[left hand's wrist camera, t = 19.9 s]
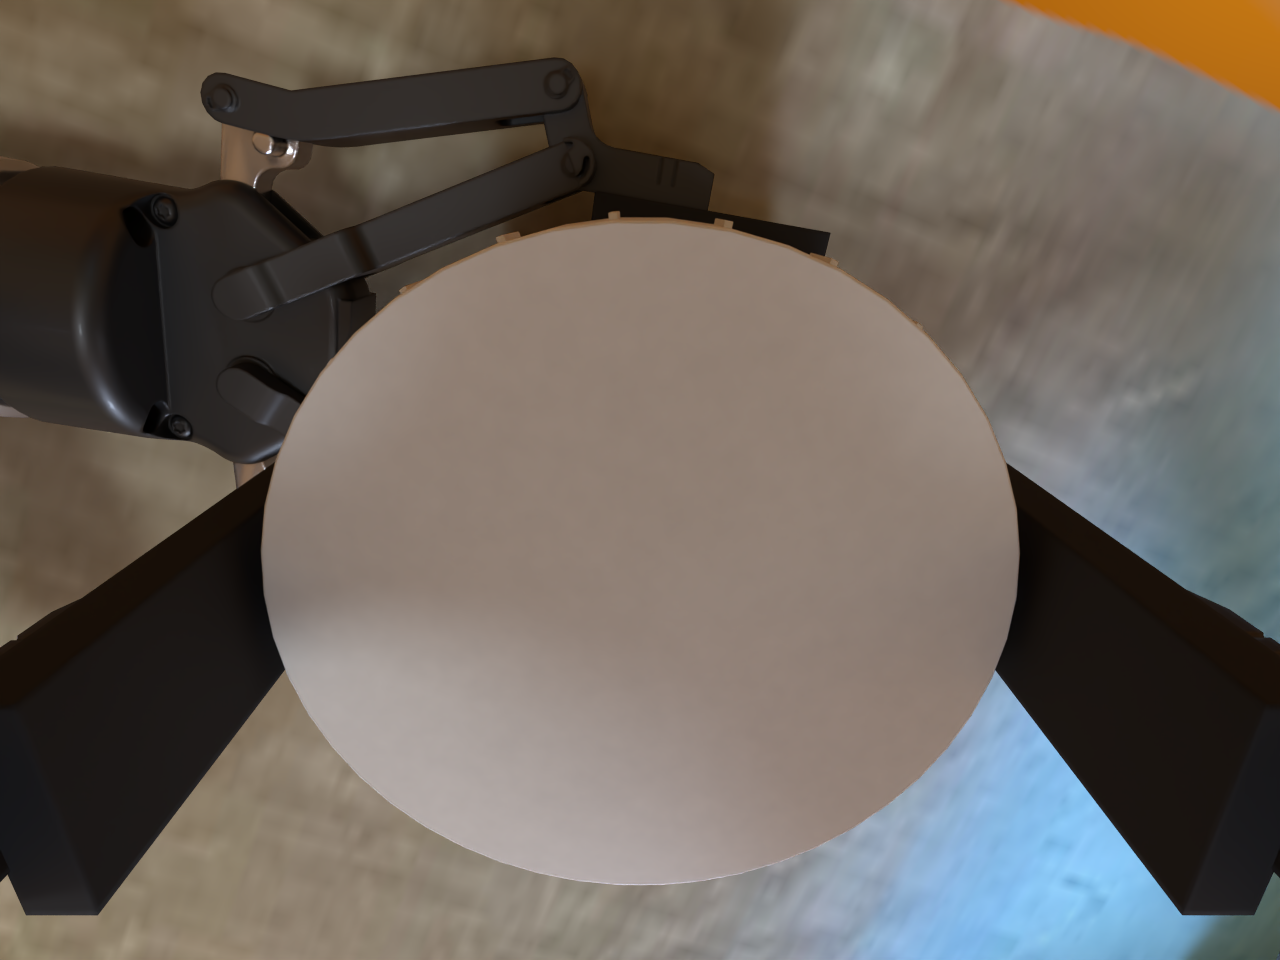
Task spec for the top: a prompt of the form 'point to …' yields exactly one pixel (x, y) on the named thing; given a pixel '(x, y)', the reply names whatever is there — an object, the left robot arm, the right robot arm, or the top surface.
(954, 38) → the top surface
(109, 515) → the top surface
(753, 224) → the right robot arm
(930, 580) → the lid
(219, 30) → the top surface
